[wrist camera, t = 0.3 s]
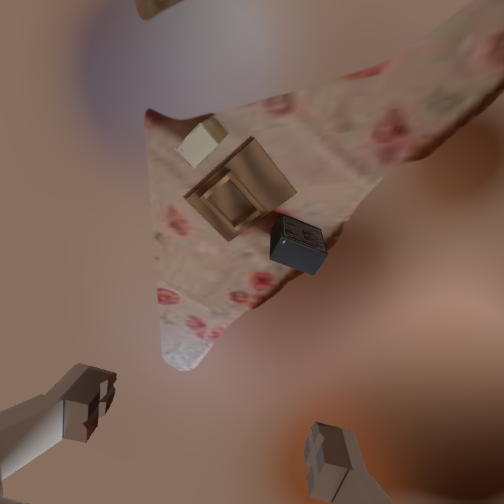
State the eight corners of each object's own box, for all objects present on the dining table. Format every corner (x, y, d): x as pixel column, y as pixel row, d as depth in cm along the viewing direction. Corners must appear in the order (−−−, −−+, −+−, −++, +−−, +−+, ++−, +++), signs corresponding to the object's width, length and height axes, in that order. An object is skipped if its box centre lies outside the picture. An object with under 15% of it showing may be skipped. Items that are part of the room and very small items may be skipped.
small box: (268, 235, 64) (267, 260, 56) (280, 212, 61) (281, 235, 52) (308, 250, 66) (313, 277, 57) (322, 229, 62) (329, 254, 54)
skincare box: (207, 153, 55) (192, 171, 45) (192, 135, 53) (172, 150, 43) (231, 131, 52) (220, 145, 42) (215, 112, 50) (200, 121, 40)
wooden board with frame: (254, 137, 52) (253, 140, 50) (296, 191, 58) (297, 195, 56) (186, 198, 61) (183, 202, 59) (228, 240, 66) (227, 245, 64)
